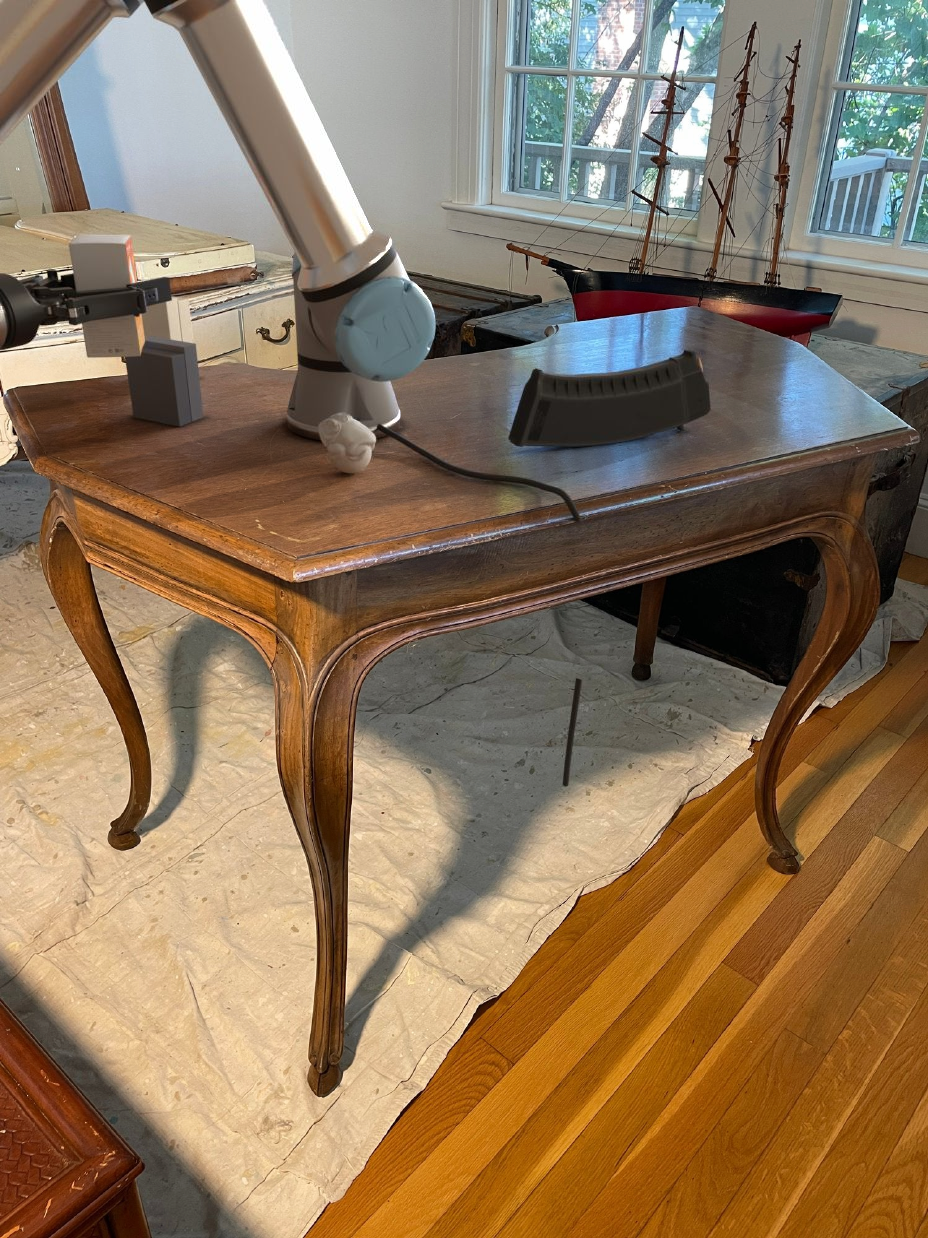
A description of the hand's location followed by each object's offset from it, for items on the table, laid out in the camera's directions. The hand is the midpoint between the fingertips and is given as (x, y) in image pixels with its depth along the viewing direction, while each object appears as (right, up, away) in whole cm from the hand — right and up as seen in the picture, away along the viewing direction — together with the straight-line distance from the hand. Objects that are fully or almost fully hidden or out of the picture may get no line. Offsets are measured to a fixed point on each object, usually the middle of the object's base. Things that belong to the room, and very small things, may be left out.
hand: (135, 284), depth 115 cm
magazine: (+61, -18, +10) cm, 64 cm away
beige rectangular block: (-5, -5, +28) cm, 28 cm away
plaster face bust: (+27, -24, -4) cm, 37 cm away
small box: (-2, -9, 0) cm, 9 cm away
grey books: (+1, -14, +11) cm, 18 cm away
